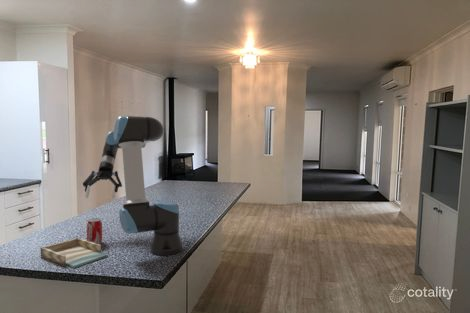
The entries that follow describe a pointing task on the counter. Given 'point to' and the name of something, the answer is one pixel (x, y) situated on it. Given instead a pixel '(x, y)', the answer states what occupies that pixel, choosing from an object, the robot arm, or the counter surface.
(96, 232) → the soda can
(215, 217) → the counter surface
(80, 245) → the truck bed
